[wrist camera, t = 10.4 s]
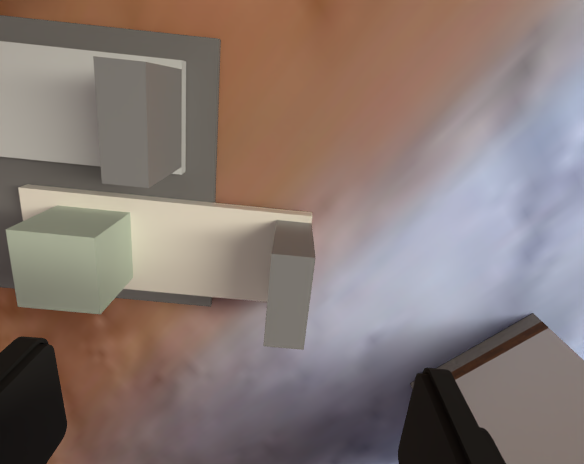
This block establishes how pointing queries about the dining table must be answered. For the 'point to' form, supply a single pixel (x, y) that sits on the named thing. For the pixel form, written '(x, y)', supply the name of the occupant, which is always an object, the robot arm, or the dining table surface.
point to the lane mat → (18, 172)
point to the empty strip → (94, 111)
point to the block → (71, 258)
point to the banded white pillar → (526, 393)
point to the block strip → (210, 251)
